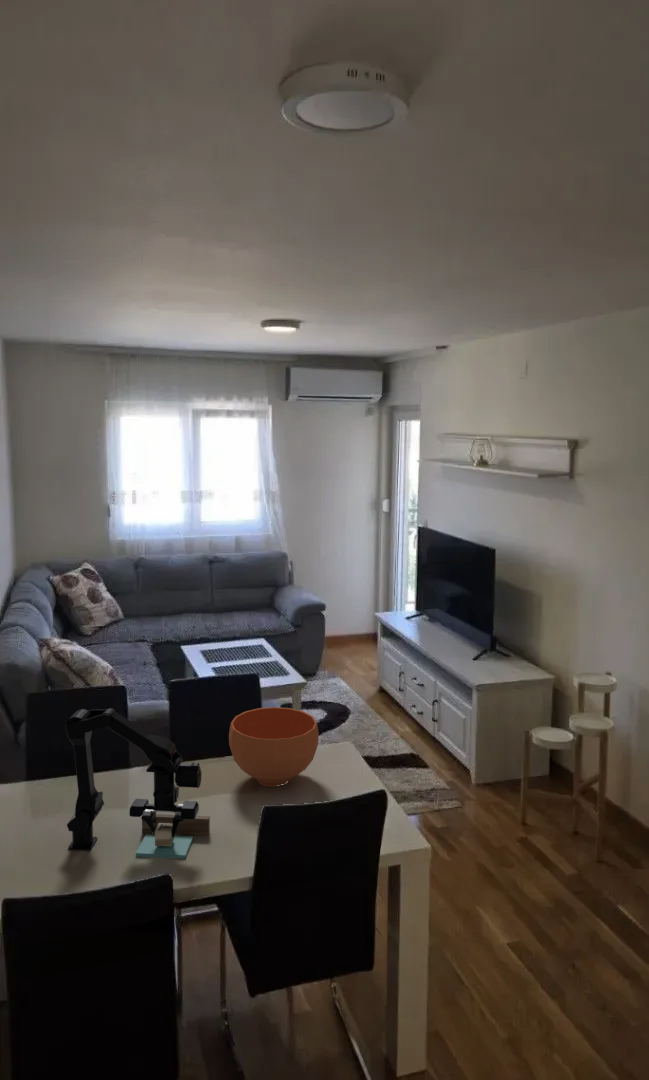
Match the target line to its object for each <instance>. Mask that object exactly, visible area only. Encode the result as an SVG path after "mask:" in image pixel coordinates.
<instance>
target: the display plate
mask: <svg viewBox="0 0 649 1080" xmlns="http://www.w3.org/2000/svg"><path fill="white" fill-rule="evenodd" d="M193 840H194V836H189V835H188V836H186V835H185V836H184V835H183V836H182V835H175V837H174V840H173V843H172V845H171V846H155V836H154V834H145V836H144V837H143V839H142V841H141V843H140V844H139V847H138V849H137V850H136V852H135V857H138V858H139V857H141V858H142V857H143V858H163V859H165V858H166V859H167V858H168V859H187V855H188V853H189V850H190V848H191V845H192V844H193Z"/></svg>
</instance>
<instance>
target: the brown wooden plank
mask: <svg viewBox="0 0 649 1080" xmlns="http://www.w3.org/2000/svg"><path fill="white" fill-rule="evenodd" d="M174 816H175V814H167V813H166V814H162V813H156V823H157V826H158V824H159V823H170V824H173V818H174ZM210 817H211V816H209V815H207V816H206V815H196V817H195V819H184V820H183V821H180V822H179V824H178V828H177V831H176V834H181V835H182V834H185V835H186V834H187V835H206V836H209V835H210V831H211V828H210V826H211V823H210V822H211V821H210V820H211V819H210ZM141 826H142V827H141V831H142V832H143V833H152V831H151V829H150V827H149V826H148V824H147V823H146V821H145V820H142V819H141Z"/></svg>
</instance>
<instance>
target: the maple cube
mask: <svg viewBox="0 0 649 1080" xmlns="http://www.w3.org/2000/svg"><path fill="white" fill-rule="evenodd" d="M172 826H173V824H170V823H159V824H158V826H157V828H156V830H155V846H171V845H172V843H173V840H174V838H173V837H172Z"/></svg>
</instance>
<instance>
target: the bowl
mask: <svg viewBox="0 0 649 1080" xmlns="http://www.w3.org/2000/svg"><path fill="white" fill-rule="evenodd" d="M319 737H320V734H319V727H318V722H317V720H316V719H315V718H314V716H313V715H311V714H310V713H308V712H305V711H303V710H300V709H295V708H290V707H278V706H272V707H258V708H253V709H250V710H246V711H244V712H243V711H242V712H241V713H240V714H238V715H235V716H234V718H233V719H232V721H231V722H230V725H229V732H228V745H229V748H230V750H231V752H230V753H231V754H232V758H233V760H234V762H235V763H236V764H237V766H238V767H239V769H240V770H241V771H243V772H244V773H245V774H247V775H248V776H250V777H251V778H254V779H255V780H256V781H257V783H258V784H259V785H261V786H263V785H264V787H267V786H277V785H281V784H285V783H286V782H287V781H289V780H290V781H291V779H294V778H295V777H296V776H298V775H300V774H301V773H302V772H305V770H306V769H308V766H309V765H310V764H311V763H312V761H313V760H314V757H315V755H316V751H317V748H318V745H319ZM290 781H289V782H290ZM265 785H266V786H265Z"/></svg>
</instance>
